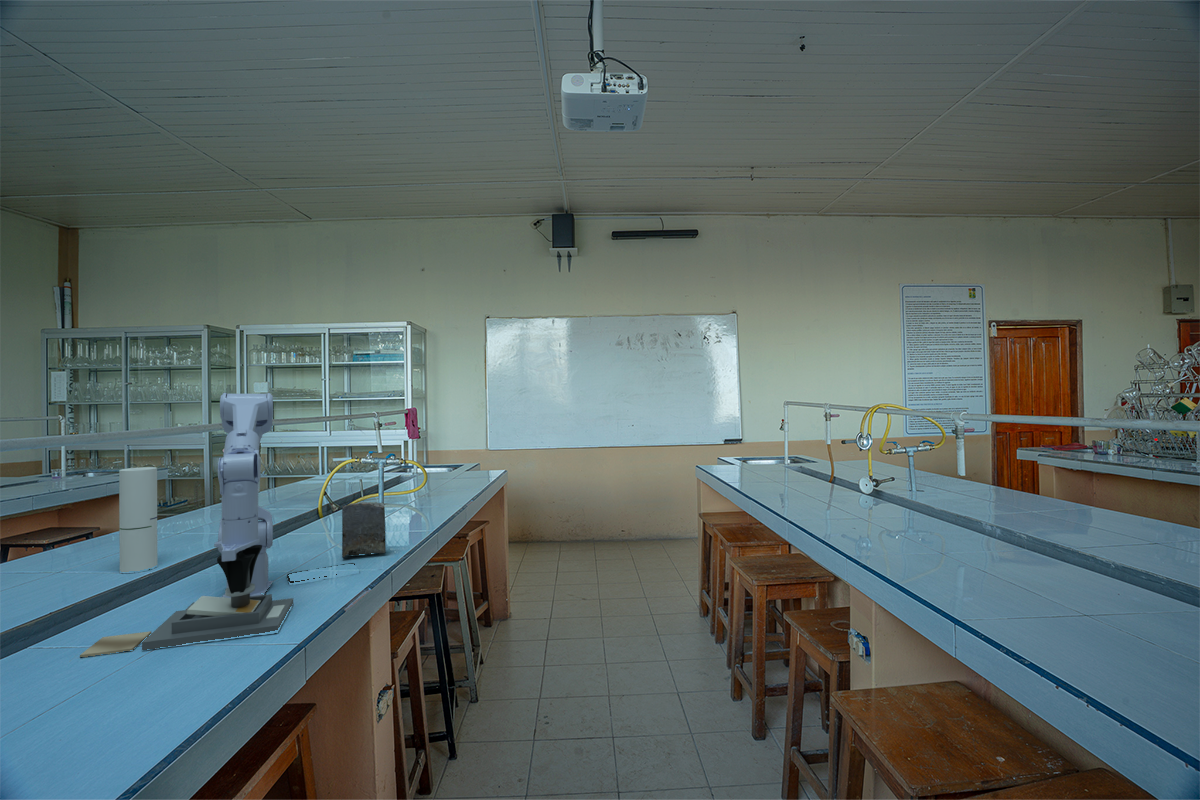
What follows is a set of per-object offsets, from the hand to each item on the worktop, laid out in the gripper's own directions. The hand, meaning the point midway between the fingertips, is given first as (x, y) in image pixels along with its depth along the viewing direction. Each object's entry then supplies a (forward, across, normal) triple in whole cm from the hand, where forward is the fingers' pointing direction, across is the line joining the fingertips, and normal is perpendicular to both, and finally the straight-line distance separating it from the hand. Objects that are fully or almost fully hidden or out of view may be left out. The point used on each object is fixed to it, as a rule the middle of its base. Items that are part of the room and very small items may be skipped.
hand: (240, 589), depth 101 cm
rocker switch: (+3, 0, -3) cm, 4 cm away
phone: (+7, -26, +10) cm, 29 cm away
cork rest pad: (+7, +3, -18) cm, 19 cm away
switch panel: (+7, 0, -3) cm, 7 cm away
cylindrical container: (+6, -46, -34) cm, 57 cm away
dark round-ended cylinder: (+3, 0, 0) cm, 3 cm away
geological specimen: (+7, -39, +18) cm, 44 cm away
